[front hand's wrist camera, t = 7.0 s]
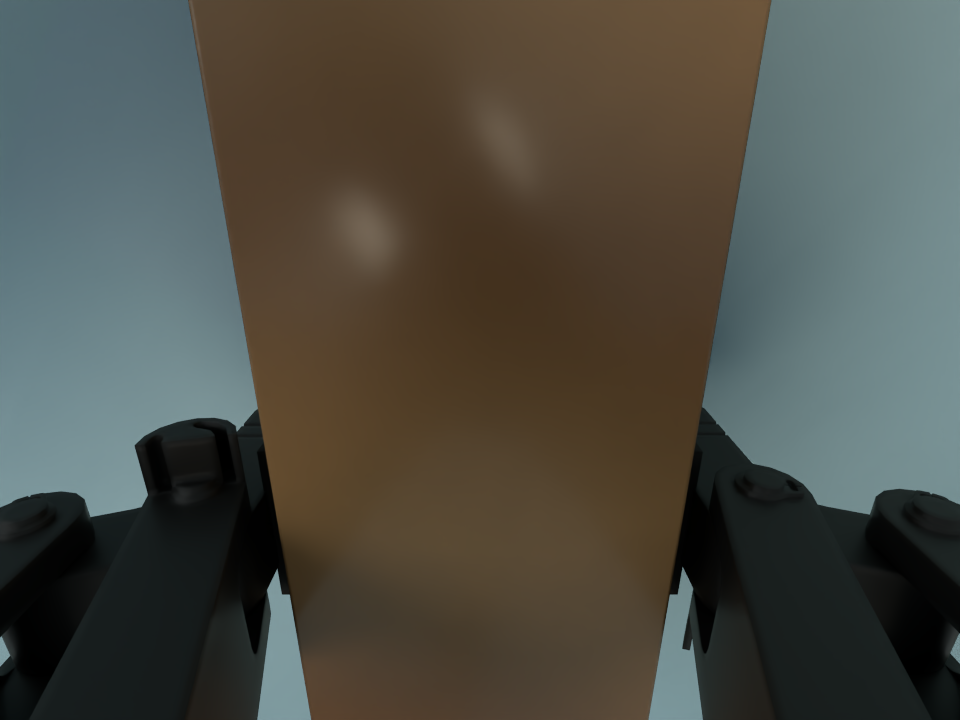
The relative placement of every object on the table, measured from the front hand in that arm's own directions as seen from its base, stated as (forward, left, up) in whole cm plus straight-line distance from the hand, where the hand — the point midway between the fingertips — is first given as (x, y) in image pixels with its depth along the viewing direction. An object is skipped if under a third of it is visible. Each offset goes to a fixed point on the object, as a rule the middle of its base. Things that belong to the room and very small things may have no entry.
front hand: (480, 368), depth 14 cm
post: (+31, +7, -1) cm, 32 cm away
